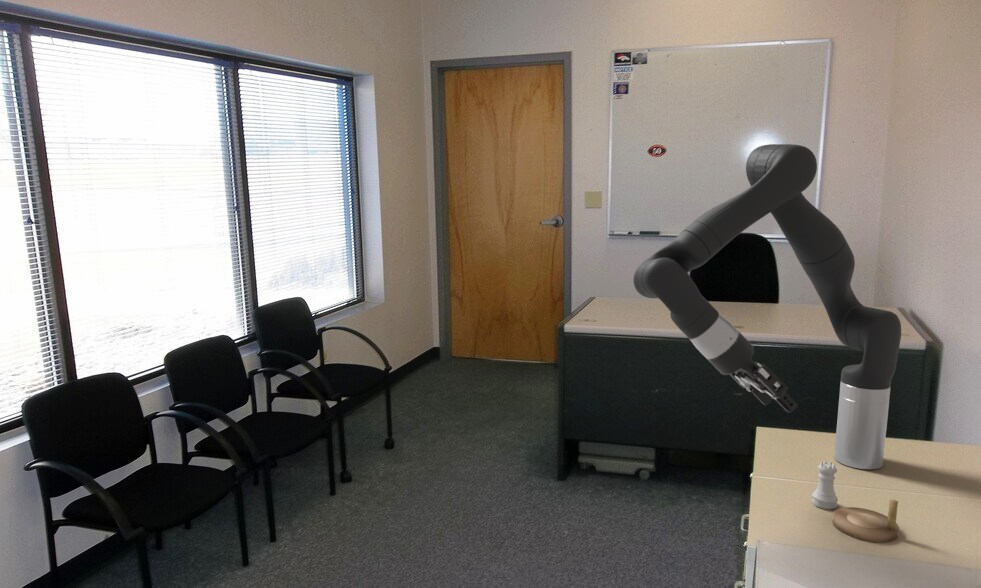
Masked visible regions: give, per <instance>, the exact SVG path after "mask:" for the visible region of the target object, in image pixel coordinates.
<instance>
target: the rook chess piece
mask: <svg viewBox="0 0 981 588" xmlns="http://www.w3.org/2000/svg"><path fill="white" fill-rule="evenodd" d="M817 470H818V472H819V474H818V478H819V479H818V484H817V487H816V489H815V490H814V492H813V493H812V494H811V495H812V496H811V497H812V498H811V502H812V504H813V506H815V507H816V508H820V509H822V510H826V509H827V510H829V511H831V510H834V509H835V510H836V508H837V507H838V505H839V504H838V503H837V502H838V496H837V494H836V492H835V486H834V481H835V480H836V477H835V474H837V472H838V468H837V467H836V464H835V463H833V462H831V461H828V463H827V461H826V460H824V461H820V463H819V464H818V466H817Z"/></svg>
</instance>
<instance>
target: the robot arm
mask: <svg viewBox="0 0 981 588" xmlns="http://www.w3.org/2000/svg"><path fill="white" fill-rule="evenodd" d="M746 159H747V160H746V163H745V173H746V178H747V180H748V183H749V185H750V187H748V188H747V189H746V190H744V191H741V193H740V194H737V195H735V196H734V197H731V198H730V199H728V200H726V201H724V202H722V203H720V204H718V205H715V206H714V207H712V208H711V209H709V210H707V211H706V212H704V213H703V214H701V215H700V216H699V217H697V218H696V219H694V220H693V222H691V223H690V224H689V225H688V226H686V227H685V228H684V229H682V231H681V232H680V233H679V234H678V235H677V236H675V238H674V239H672V241H670V242H669V243H667V244H666V245H664V246H663V247H661V248H660V249H658V250H656V251H655V252H654V253H653V254H651V255H650V256H649V257H647V258H646V259H645V260H644V261H642V263H640V264H639V265H638V267H637V268H636V270H635V272H634V274H633V279H632V281H633V286H634V288H635V291H636V292H637V293H639V294H640V296H643V297H645V298H647V299H659V300H660V301H661V302H662V304H664V305H665V307H666V308H667V309H668V311H670V314H669V315H670V319H671V321H672V322H673V323H674V324H675V326H676V327H677V328H678V329H679V330H680V331H681V332H682V333H683V334H684V335H685V336H686V337H687V338H688V340H689V341H690V342H691V343H692V344H693V346H694V347H695V349H696V350H698V351H699V353H700V354H701V355H702V356H703V357H705V359H706V360H707V361H708V362H709V363H710V364H711V365H712V366H713V367H714V368H715V369H716V371H718V372H719V373H720V374H721V375H723V376H729V375H730V377H731V378H732V379H733V380H734V381H735V382H736V383H737V384H738V385H739V387H740V388H742V389H746V391H747V392H750V393H752V394H753V395H754V396H755V398H756V399H758V401H759V402H761V404H762V405H764V406H768V405H769V404H771V402H773V400H774V401H776V402H777V404H778V405H779V406H780V407H782V409H783V410H784V411H785V412H786V413H789V414H791V413H793V412H794V411H795V410H796V409H797V408H798V406H799V405H798V403H797V402H796V400H794V398H793V397H791V395H790V394H789V393H788V392H787V391H788V390H789V386H788V385H787V384H785V382H783V380H782V379H780V378H779V376H778V375H777V374H775V372H774V371H773V370H771V368H770V367H769V366H768V365H767V364H763V363H762V364H761V363H760V362H758V361H754V360H753V359H752V358H753V355H754V353H755V347H754V346H753V344H752V343H751V342H750V341H749V340H748V339H747V338H746V336H744V335H743V333H741V331H739V330H738V328H736V327H735V326H734V324H733V323H732V322H731V321H729V319H727V318H726V317H725V316H724V315H722V314H721V313H720V312H719V311H718V310H717V309H716V308H715V307H714V306H713V305H712V304H711V303H710V302H709V301H708V300H707V299H706V298H705V297H704V296H703V295H702V293H701V292H700V290H699V288H698V286H697V285H696V283H695V282H694V281H693V279H692V277H691V276H690V275H689V272H691V271H693V270H695V269H696V270H697V269H698V268H700V267H702V266H703V265H705V264H706V263H707V262H709V260H711V259H712V258H713V257H714V256H715V255H716V254H718V253H719V252H720V251H721V250H722V249H724V247H725V246H727V245H728V244H729V243H731V241H733V240H734V239H735V238H736V237H737V236H739V235H740V234H741V233H743V232H744V231H745V230H747V229H748V228H749V227H750V226H752V225H754V224H755V223H757V222H758V221H759V220H761V219H762V218H764V217H765V216H767V215H768V214H771V216H772V217H773V219H774V220H775V221H776V224H778V226H779V228H780V230H781V232H782V233H783V235H784V236H785V238H786V239H785V240H787V242H788V243H789V245H790V247H791V248H792V250H793V252H794V255H795V256H796V258H797V260H798V262H799V264H800V265H801V267H802V269H803V271H804V273H805V274H806V275H807V277H808V279H809V281H810V282H811V283H812V286H813V287H814V290H815V291H816V293H817V295H818V297H819V298H820V300H821V302H822V304H823V306H824V309H825V312H826V314H827V316H828V318H829V321H830V323H831V327H832V328H833V331H834V333H835V335H836V337H837V338H838V340H839V341H840V343H841V344H843V345H844V346H845V347H848V348H850V349H854V350H856V351H862V352H863V355H862V361H861V363H859V364H858V363H857V364H850V365H846V366H844V367H843V368H842V370H841V372H840V385H839V399H838V408H837V409H838V410H837V423H836V432H835V443H834V452H833V453H834V454H833V457H834V459H835V461H837V462H838V463H840V464H842V465H844V466H846V467H847V466H848V467H850V468H853V469H855V468H856V469H859V470H860V469H861V470H878V469H881V468H882V467H883V465H884V455H885V454H884V453H885V447H886V436H887V428H888V427H887V426H888V419H889V418H888V417H889V408H890V407H889V405H890V396H891V395H890V394H891V384H892V380H893V377H894V374H895V372H896V369H897V364H898V363H897V362H898V359H899V351H900V346H901V339H902V323H901V319H900V318H899V316H898V315H897V314H896V313H894V312H893V311H890V310H886V309H881V308H876V307H872V306H871V307H870V306H865V305H863V304H862V302H860V301H859V299H858V298H857V297H856V295H855V293H854V291H853V289H852V287H851V283H852V278H853V276H854V270H855V266H856V261H855V256H854V254H853V250H852V249H851V247H850V245H849V243H848V242H847V239H846V237H845V236H844V234H843V232H842V231H841V230H840V229H839V227H838V225H836V224H835V223H834V222H833V221H832V220H831V219H830V218H828V217H827V216H826V215H825V214H824V213H823V212H822V211H820V210H819V209H818V208H817V207H816V206H815V205H813V204H812V203H811V202H810V201H809V200H808V199H807V198H806V197H805V196H804V194H803V192H804V191H805V190H807V188H808V187H810V185H811V184H812V183H813V181H814V179H815V177H816V176H817V170H818V163H817V162H818V161H817V159H816V155H815V153H814V152H813V151H812V150H811V149H810V148H809V147H806V146H805V145H800V144H791V143H790V144H789V143H788V144H787V143H786V144H784V143H783V144H781V143H776V144H775V143H769V144H764V145H759V146H758V147H755V148H754V149H753V150H752V151H751V152H750V153H749V155H748V157H747V158H746ZM773 386H775V387H776V388H774V387H773Z"/></svg>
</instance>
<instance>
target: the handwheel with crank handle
mask: <svg viewBox="0 0 981 588" xmlns="http://www.w3.org/2000/svg"><path fill="white" fill-rule="evenodd" d="M888 502H889V504H888V512H887V513H888V514H887V515H885V514H883V513H880V512H878V511H875V510H870V509H866V508H863V507H861V508H860V507H853V506H851V507H849V506H848V507H841V508H837V509H835V510H834V511H833V512H832V520H831V521H832V525H833V526H834V527H835V528H836V529H837V531H840V532H841V533H843V534H844V535H847V536H849V537H852V538H854V539H858V540H862V541H864V542H871V543H888V542H893V541H894V540H896V539H897V538H898V536H899V529H900V528H899V525H898V523H897V514H898V507H899V506H898V505H899V502H898V500H896V499H889V501H888Z"/></svg>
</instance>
